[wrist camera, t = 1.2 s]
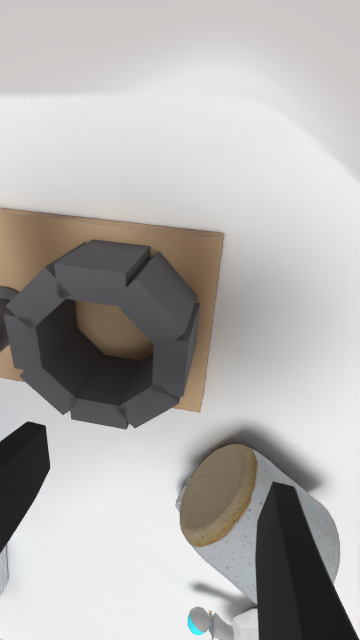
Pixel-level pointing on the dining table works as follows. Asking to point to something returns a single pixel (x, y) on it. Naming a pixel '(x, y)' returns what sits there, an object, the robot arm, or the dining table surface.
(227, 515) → the ceramic mug
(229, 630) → the perfume bottle
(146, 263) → the dark grey octagonal ring
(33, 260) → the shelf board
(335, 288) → the dining table surface
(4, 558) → the tea box
